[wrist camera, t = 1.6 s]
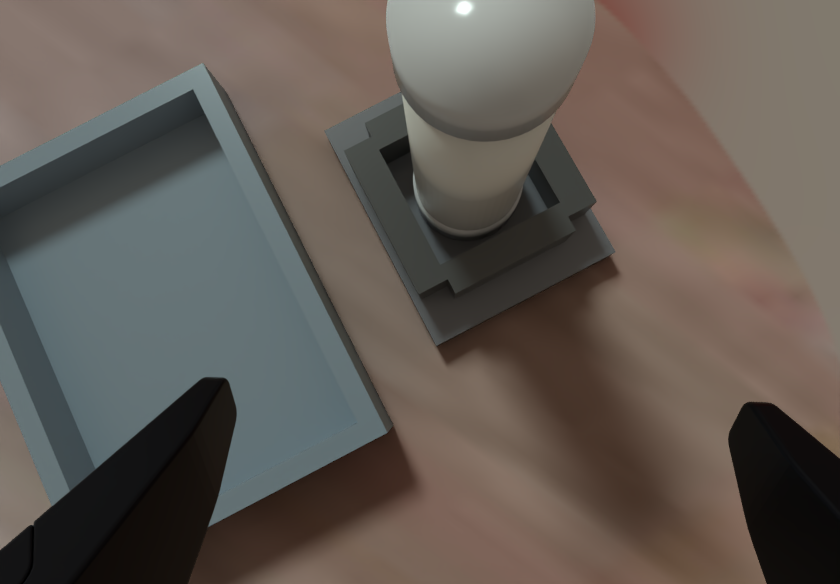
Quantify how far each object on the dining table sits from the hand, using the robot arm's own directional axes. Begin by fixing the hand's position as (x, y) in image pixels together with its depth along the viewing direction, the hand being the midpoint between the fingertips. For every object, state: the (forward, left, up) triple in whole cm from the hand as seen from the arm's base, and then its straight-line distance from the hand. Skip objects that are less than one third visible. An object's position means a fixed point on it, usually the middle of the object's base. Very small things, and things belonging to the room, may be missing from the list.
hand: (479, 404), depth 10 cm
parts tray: (+8, +9, -13) cm, 18 cm away
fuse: (+7, -4, -13) cm, 15 cm away
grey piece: (+7, -4, -13) cm, 15 cm away
